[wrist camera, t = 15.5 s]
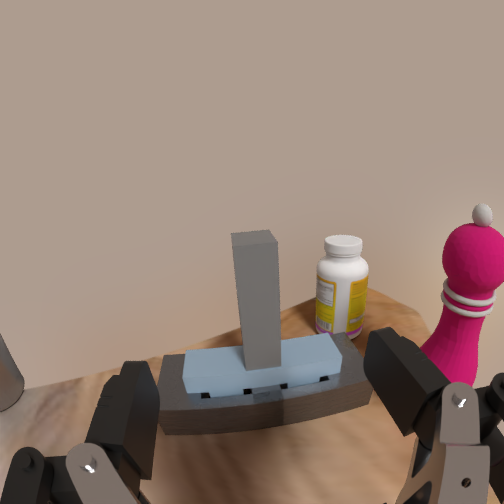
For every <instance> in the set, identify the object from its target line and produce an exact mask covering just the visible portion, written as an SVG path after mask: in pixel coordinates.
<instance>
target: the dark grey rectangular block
mask: <svg viewBox="0 0 504 504" xmlns="http://www.w3.org/2000/svg"><path fill="white" fill-rule="evenodd" d="M330 337H331V338H332V340H333V342H334V343H335V345H336V347H337V348H338V350H339V352H340V353H341V355H342V363H341V369H340V373H336V374H331V375H327V376H322V377H320V379H319V382H318V383H313V384H308V385H304V386H298V387H293V388H287V389H282V390H281V388H280V384H278V385H272V386H265V387H257V388H250V391H251V394H247V395H238V396H229V397H218V398H209V392H204V393H187V391H186V388H185V385H184V382H183V379H182V377H183V369H184V361H185V354H176V355H164V357H163V362H162V366H161V371H160V376H159V381H158V386H157V389H158V391H159V396H160V410H159V417H158V422H159V424H160V426H161V427H162V429H163V431H164V433H165V435H196V434H216V433H228V432H239V431H248V430H256V429H263V428H270V427H276V426H282V425H287V424H293V423H298V422H303V421H307V420H312V419H316V418H321V417H325V416H329V415H333V414H337V413H340V412H344V411H347V410H351V409H354V408H358V407H361V406H364V405H367V404H369V401H370V398H371V394H372V391H373V387H372V385H371V384H370V382H369V381H368V379H367V377H366V376H365V373H364V369H363V362H364V358H363V357H362V355H361V354H360V353H359V351H358V350H357V348H356V347H355V345H354V344H353V343H352V341H351V340H350V338H349V337H348V336H347V334H346V333H345V332H341V333H336V334H331V335H330Z"/></svg>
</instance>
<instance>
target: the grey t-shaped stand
mask: <svg viewBox="0 0 504 504" xmlns="http://www.w3.org/2000/svg"><path fill="white" fill-rule="evenodd" d="M231 238H232V249H233V258H234V269H235V279H236V288H237V298H238V306H239V316H240V325H241V334H242V343H243V345H241V346H232V347H221V348H210V349H197V350H186V354H185V361H184V369H183V377H182V379H183V382H184V385H185V388H186V391H187V393H204V392H209V393H210V397H211V398H218V397H229V396H238V395H244V390H243V389H249V388H257V387H265V386H272V385H278V384H281V386H282V389H287V388H293V387H298V386H304V385H308V384H313V383H318V382H319V379H320V377H322V376H327V375H331V374H336V373H340V369H341V363H342V355H341V353H340V352H339V350H338V348H337V347H336V345H335V343H334V342H333V340H332V338H331V337H330V335H329V333H323V334H317V335H312V336H306V337H300V338H293V339H287V340H281V322H280V292H279V291H280V290H279V266H278V265H279V263H278V242H277V241H276V239H275V238H274V236H273V235H272V234H271V232H270V231H269V230H261V231H251V232H241V233H231Z"/></svg>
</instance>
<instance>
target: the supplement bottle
mask: <svg viewBox="0 0 504 504" xmlns="http://www.w3.org/2000/svg"><path fill="white" fill-rule="evenodd" d="M324 249H325V251H326V256H325V257H323V258H322V259H321V260H320V261H319V262H318V264H317V288H316V322H315V323H316V330H317V332H318V333H319V334H323V333H329V335H331V334H336V333H341V332H345V333H346V334H347V336H348V337H349V338H350V340H351V339H353V338H355V337H356V336H358V335H359V334H360V332H361V330H362V326H363V320H364V312H365V304H366V294H367V284H368V264H367V263H366V261H365V260H364V259H363V258H361V257H360V253H361V251H362V240H361V239H360V238H358V237H355V236H350V235H334V236H330V237H327V238H326V239H325V246H324Z"/></svg>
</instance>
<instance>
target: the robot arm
mask: <svg viewBox="0 0 504 504" xmlns="http://www.w3.org/2000/svg"><path fill="white" fill-rule="evenodd" d="M363 369H364V373H365V376H366V377H367V379H368V381H369V382H370V384H371V385H372V387H373V388H374V390H375V391H376V393H377V395H378V396H379V398H380V399H381V401H382V402H383V404H384V406H385V407H386V409H387V410H388V412H389V413H390V415H391V417H392V418H393V420H394V421H395V423H396V425H397V426H398V428H399V429H400V431H401V433H402V434H403V436H404V437H405V436H407V435H409V434H411V433H413V432H415V433H416V435H417V437H416V439H415V443H414V448H413V453H412V458H411V463H410V467H409V471H408V475H407V479H406V482H405V485H404V487H403V488H402V490H401V492H400V494H399V496H398V498H397V500H396V503H395V504H486V503H487V495H488V486H489V483H490V485H491V487H492V488H493V490H494V492H495V494H496V496H497V498H498V500H499V501H500V503H501V504H504V436H503V435H502V433H501V432H500V430H499V429H498V428H497V425H498V424H499V423H500V421H501V420H503V421H504V373H499V374H497V375H495V376H494V378H493V380H492V382H491V383H490V385H489V386H486V387H482V388H477V389H473V388H472V387H471V386H470V385H468V384H466V383H462V382H454V383H451V382H450V381H449V379H448V378H447V377H446V376H445V375H444V374H443V373H442V372H441V371H440V370H439V368H438V367H437V366H436V365H435V364H434V363H433V362H432V361H431V360H430V359H428V357H427V356H426V354H425V353H424V352H422V350H421V349H420V348H419V347H418V346H417V345H416V344H415V343H414V342H413V341H411V340H409V339H407V338H405V337H403V336H402V337H400V336H399V335H398V334H397V333H396V332H395V331H394V330H393V329H392V328H391V327H386V328H382V329H378V330H374V331H371V332H370V334H369V338H368V343H367V348H366V352H365V357H364V362H363ZM23 389H24V378H23V376H22V375H21V373H20V371H19V369H18V368H17V366H16V364H15V362H14V360H13V358H12V356H11V354H10V352H9V350H8V348H7V346H6V344H5V343H4V340H3V338H2V336H1V334H0V411H2V410H5V409H7V408H8V407H10V406H11V405H13V404H14V403H15V402H16V401H17V400H18V398H19V397H20V396H21V394H22V392H23ZM100 396H101V398H99V401H98V404H97V407H96V409H95V412H94V415H93V418H92V421H91V424H90V427H89V430H88V433H87V437H86V440H85V442H84V443H82V444H79V445H77V446H75V447H73V448H72V449H71V450H70V451H69V453H68V455H66V456H55V457H44V456H43V455H42V454H41V453H40V452H39V451H38V450H37V449H35V448H32V447H24V448H21V449H20V450H18V451H17V452H16V453H15V455H14V456H13V459H12V462H11V465H10V468H9V471H8V474H7V478H6V481H5V485H4V488H3V492H2V496H1V500H0V504H151V503H150V502H149V500H148V499H147V498H146V496H145V495H144V494H143V493H142V491H141V490H140V489H139V487H140V479H144V480H151V477H152V466H153V457H154V448H155V439H156V432H157V424H158V417H159V410H160V396H159V391H158V389H157V386H156V384H155V381H154V378H153V376H152V373H151V371H150V368H149V365H148V363H147V362H146V361H125V362H124V364H123V366H122V369H121V372H120V375H113V376H112V377H111V378H110V379H109V380H108V381H107V382H106V384H105V385H104V387H103V390H102V393H101V395H100ZM48 501H49V502H48ZM384 504H387V503H384Z"/></svg>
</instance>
